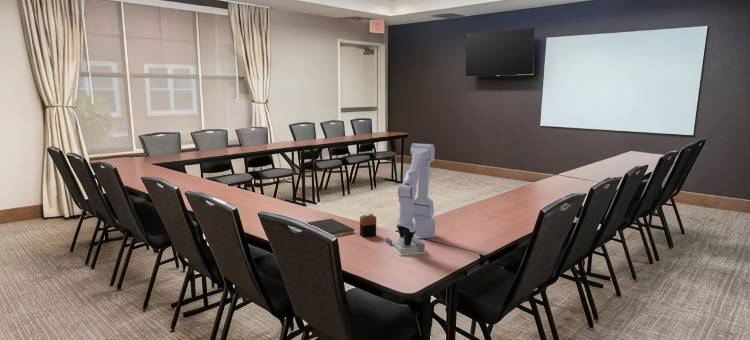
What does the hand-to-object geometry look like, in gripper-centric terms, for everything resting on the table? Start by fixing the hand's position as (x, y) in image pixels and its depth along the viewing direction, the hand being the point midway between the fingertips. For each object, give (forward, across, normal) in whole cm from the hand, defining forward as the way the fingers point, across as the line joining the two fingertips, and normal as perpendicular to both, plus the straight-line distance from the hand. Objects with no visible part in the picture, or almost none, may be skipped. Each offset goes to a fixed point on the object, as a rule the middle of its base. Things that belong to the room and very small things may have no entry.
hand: (405, 243), depth 191 cm
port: (+3, 0, +1) cm, 4 cm away
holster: (+3, -11, 0) cm, 11 cm away
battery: (+3, -25, -9) cm, 27 cm away
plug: (+2, 0, 0) cm, 2 cm away
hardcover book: (+4, -39, -25) cm, 46 cm away
